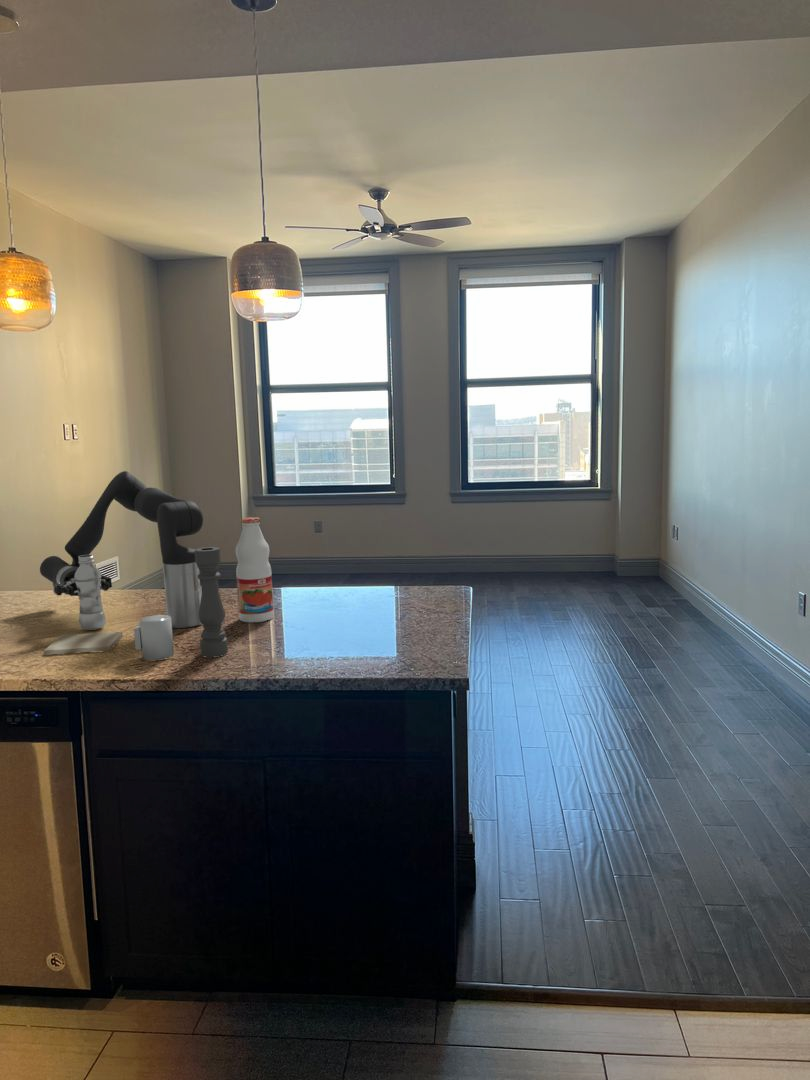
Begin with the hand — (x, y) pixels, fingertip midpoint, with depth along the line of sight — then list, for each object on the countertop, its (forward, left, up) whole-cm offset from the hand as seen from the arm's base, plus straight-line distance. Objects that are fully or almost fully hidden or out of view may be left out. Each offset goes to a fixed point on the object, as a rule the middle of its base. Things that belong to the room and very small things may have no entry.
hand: (89, 589), depth 199 cm
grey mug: (-22, +28, -11) cm, 37 cm away
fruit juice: (-43, -1, -11) cm, 44 cm away
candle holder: (-35, +29, -11) cm, 46 cm away
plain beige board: (-2, +15, -11) cm, 18 cm away
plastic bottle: (0, 0, -11) cm, 11 cm away
